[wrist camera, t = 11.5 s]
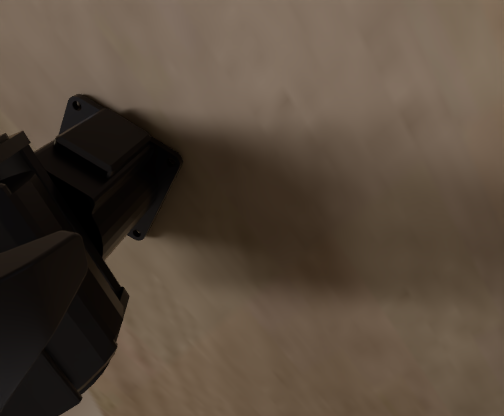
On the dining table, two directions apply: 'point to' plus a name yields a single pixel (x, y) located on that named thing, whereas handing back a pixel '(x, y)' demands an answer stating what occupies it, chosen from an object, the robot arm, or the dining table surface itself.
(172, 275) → the dining table surface
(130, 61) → the dining table surface
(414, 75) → the dining table surface
